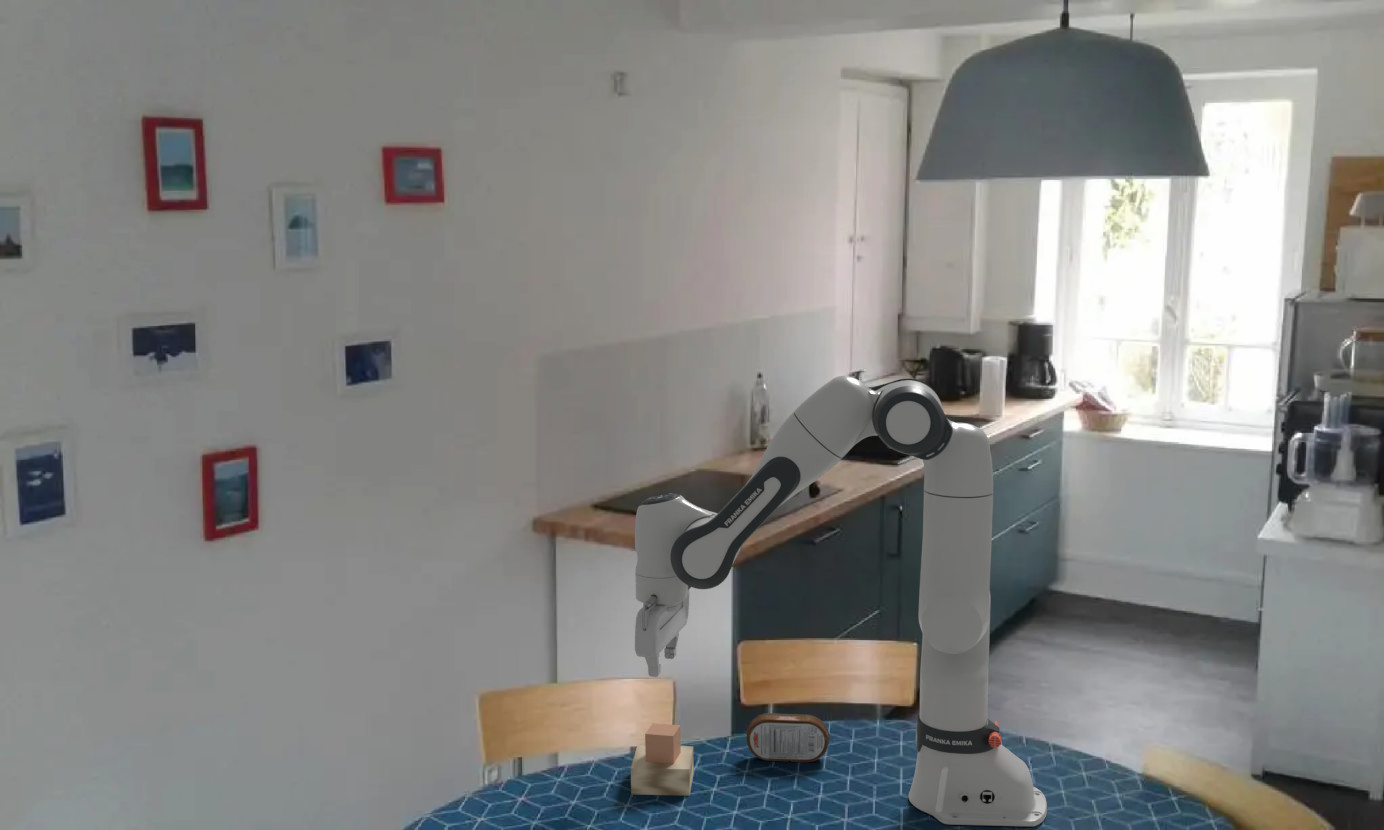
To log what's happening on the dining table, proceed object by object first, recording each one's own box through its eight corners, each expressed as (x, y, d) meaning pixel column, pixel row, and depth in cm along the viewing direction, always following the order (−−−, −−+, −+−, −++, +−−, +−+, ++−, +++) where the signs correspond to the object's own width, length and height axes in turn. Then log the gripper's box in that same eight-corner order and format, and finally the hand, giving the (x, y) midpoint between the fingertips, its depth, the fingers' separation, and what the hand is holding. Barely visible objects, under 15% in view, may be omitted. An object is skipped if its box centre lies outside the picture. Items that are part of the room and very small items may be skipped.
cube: (680, 752, 222) (680, 725, 221) (673, 763, 217) (673, 736, 216) (653, 750, 223) (652, 723, 222) (645, 761, 218) (645, 733, 218)
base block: (693, 773, 225) (693, 746, 225) (689, 797, 216) (689, 769, 215) (637, 772, 226) (637, 745, 225) (631, 796, 216) (630, 768, 216)
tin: (829, 757, 231) (829, 713, 230) (829, 764, 228) (829, 720, 227) (746, 755, 232) (746, 711, 231) (745, 762, 229) (745, 717, 228)
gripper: (661, 606, 205) (662, 688, 207) (694, 574, 225) (695, 649, 227) (624, 603, 207) (626, 685, 209) (660, 572, 227) (662, 647, 228)
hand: (662, 666), depth 218 cm, fingers open, 8 cm apart
